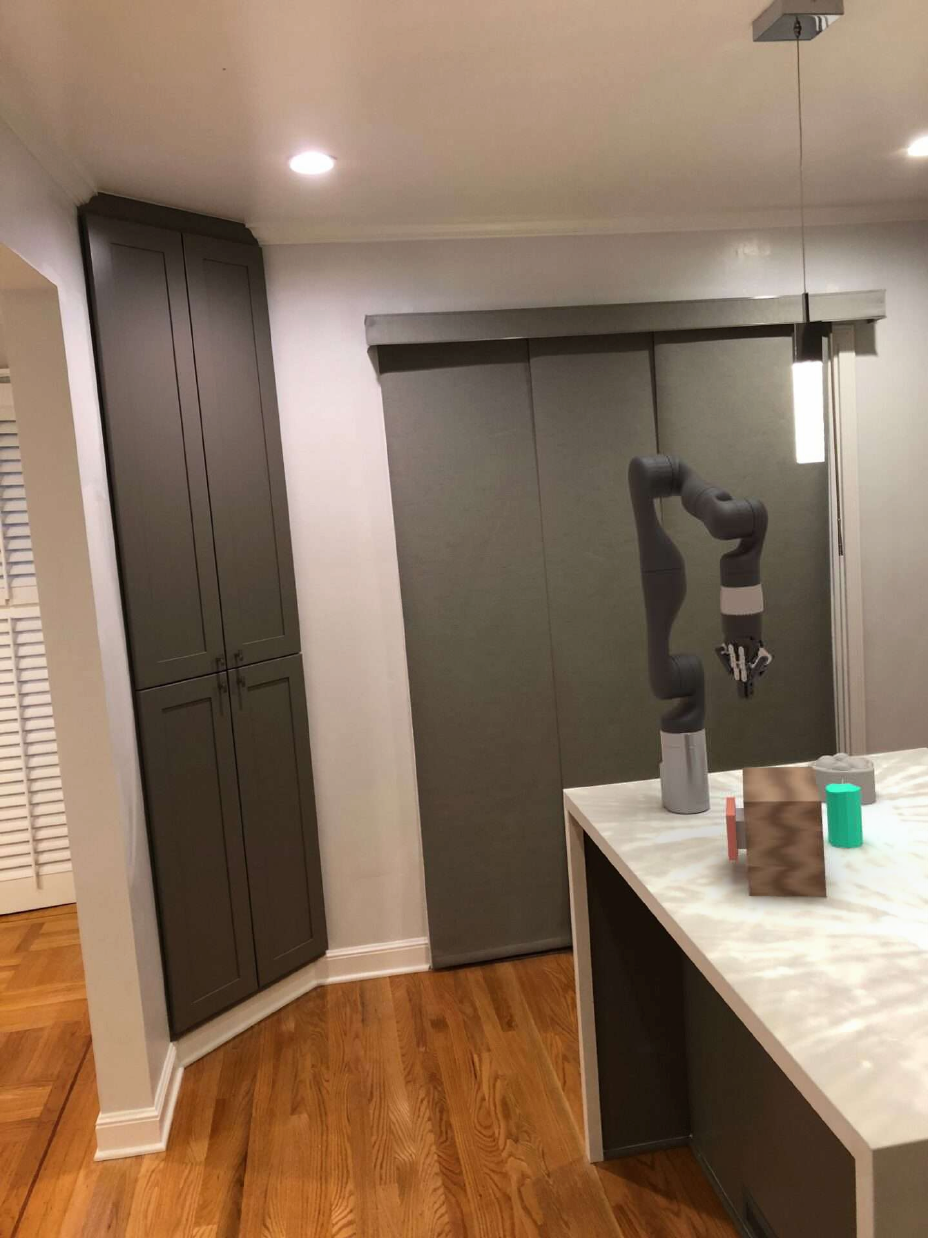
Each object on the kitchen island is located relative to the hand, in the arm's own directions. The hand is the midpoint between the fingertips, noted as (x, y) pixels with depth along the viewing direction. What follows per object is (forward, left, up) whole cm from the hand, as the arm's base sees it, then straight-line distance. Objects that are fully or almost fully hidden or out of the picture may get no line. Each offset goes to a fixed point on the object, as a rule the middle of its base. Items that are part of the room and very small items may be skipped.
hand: (746, 698), depth 180 cm
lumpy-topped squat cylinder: (-3, +32, -28) cm, 42 cm away
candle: (+13, +10, -28) cm, 32 cm away
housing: (+14, -9, -28) cm, 32 cm away
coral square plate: (+10, -12, -24) cm, 28 cm away
